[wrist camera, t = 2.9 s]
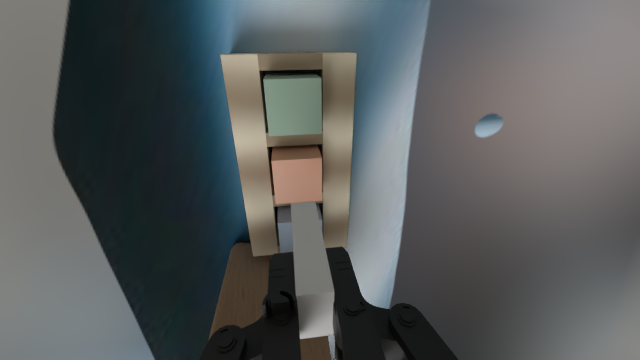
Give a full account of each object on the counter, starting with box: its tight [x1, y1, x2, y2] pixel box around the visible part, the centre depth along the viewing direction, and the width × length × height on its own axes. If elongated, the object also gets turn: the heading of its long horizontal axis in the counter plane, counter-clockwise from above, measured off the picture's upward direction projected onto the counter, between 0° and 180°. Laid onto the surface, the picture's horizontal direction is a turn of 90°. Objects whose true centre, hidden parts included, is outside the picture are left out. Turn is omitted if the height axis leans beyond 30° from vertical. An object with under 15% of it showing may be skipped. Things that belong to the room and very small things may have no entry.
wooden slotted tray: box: [220, 52, 357, 256], centre depth 26 cm, size 19×10×4 cm, turn 1°
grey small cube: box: [278, 203, 322, 253], centre depth 26 cm, size 4×4×4 cm
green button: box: [263, 73, 322, 136], centre depth 21 cm, size 4×4×4 cm
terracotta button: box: [271, 144, 322, 204], centre depth 24 cm, size 4×4×4 cm
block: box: [208, 242, 331, 360], centre depth 25 cm, size 10×10×20 cm
